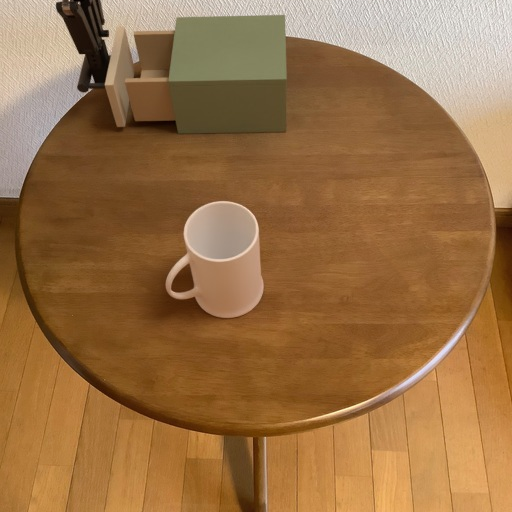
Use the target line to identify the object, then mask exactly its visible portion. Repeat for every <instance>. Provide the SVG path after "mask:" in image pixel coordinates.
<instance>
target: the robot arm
mask: <svg viewBox="0 0 512 512" xmlns="http://www.w3.org/2000/svg"><path fill="white" fill-rule="evenodd" d="M55 10H56V12H57V13H58V14H59V16H60V17H61V18H62V20H63V23H64V24H65V26H66V29H67V31H68V33H69V36H70V38H71V40H72V42H73V45H74V46H75V48H76V50H77V52H78V54H79V55H85V54H86V57H87V60H88V63H89V66H90V70H91V73H92V79H93V83H105V81H106V76H107V72H108V67H109V62H110V58H109V55H110V54H109V50H108V47H107V44H106V40H105V39H103V38H109V37H110V30H109V29H104V28H103V26H105V23H106V19H105V16H104V12H103V11H104V10H103V6H102V1H101V0H60V1H56V2H55Z"/></svg>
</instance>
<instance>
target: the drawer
mask: <svg viewBox="0 0 512 512" xmlns="http://www.w3.org/2000/svg"><path fill="white" fill-rule="evenodd" d="M174 33H175V29H174V30H173V29H172V30H170V29H169V30H134V31H133V39H134V43H135V47H136V51H137V56H138V57H137V58H138V61H139V65H140V70H141V71H140V77H135V72H136V71H135V70H136V68H135V64H134V60H133V56H132V51H131V47H130V43H129V38H128V35H127V31H126V27H125V26H116V29H115V34H114V39H113V43H112V48H111V53H110V54H108V55H109V58H110V62H109V67H108V72H107V76H106V81H105V83H95V82H92V81H91V80H92V78H93V76H92V73H91V70H90V66H89V63H88V60H87V57H86V54H84V56H83V61H82V65H81V70H80V72H79V73H80V74H79V78H78V81H77V85H76V89H77V90H78V92H80V93H82V94H83V93H84V94H85V93H88V91H89V90H103V89H105V91H106V94H107V97H108V102H109V104H110V107H111V112H112V115H113V119H114V121H115V124H116V127H117V128H125V127H126V122H127V117H128V112H129V106H130V107H131V111H132V115H133V116H132V117H133V119H134V122H163V121H164V122H166V121H167V122H169V121H170V122H171V121H173V122H174V121H176V120H175V115H174V109H173V104H172V99H171V93H170V88H169V82H168V80H169V72H170V64H171V56H172V48H173V41H174Z"/></svg>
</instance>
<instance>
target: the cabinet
mask: <svg viewBox="0 0 512 512" xmlns="http://www.w3.org/2000/svg"><path fill="white" fill-rule="evenodd" d="M174 30H175V33H174V41H173V48H172V56H171V64H170V72H169V80H168V82H169V88H170V93H171V99H172V104H173V109H174V115H175V120H174V121H175V125H176V130H177V134H178V135H181V134H182V135H184V134H185V135H187V134H190V135H191V134H238V133H239V134H241V133H243V134H244V133H245V134H246V133H247V134H249V133H250V134H251V133H286V132H287V105H288V104H287V101H288V100H287V99H288V98H287V96H288V95H287V92H288V91H287V89H288V87H287V85H288V76H287V75H288V73H287V41H286V40H287V38H286V37H287V36H286V15H285V14H266V15H265V14H263V15H261V14H260V15H219V16H218V15H217V16H214V15H213V16H176V18H175V25H174Z"/></svg>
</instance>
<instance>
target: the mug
mask: <svg viewBox="0 0 512 512" xmlns="http://www.w3.org/2000/svg"><path fill="white" fill-rule="evenodd" d="M183 239H184V244H185V250H186V254H185V255H183V256H182V257H181V258H180V259H179V260H178V261H177V262H176V263H175V264H174V265H173V266H172V268H171V269H170V271H169V273H168V274H167V277H166V280H165V290H166V292H167V294H168V295H169V296H170V297H171V298H173V299H175V300H188V299H192V298H194V299H195V301H196V302H197V304H198V305H199V307H200V308H201V309H202V310H203V311H205V313H207V314H209V315H211V316H214V317H217V318H220V319H233V318H238V317H242V316H244V315H246V314H248V313H249V312H251V311H252V310H253V309H254V308H256V307H257V305H258V304H259V302H260V301H261V299H262V296H263V293H264V288H265V287H264V285H265V284H264V279H263V276H262V267H261V252H260V251H261V250H260V249H261V246H260V229H259V223H258V221H257V218H256V216H255V215H254V213H253V212H252V211H251V210H249V208H247V207H245V206H244V205H242V204H240V203H237V202H233V201H226V200H220V201H219V200H217V201H213V202H209V203H206V204H204V205H202V206H200V207H198V208H197V209H195V210H194V211H193V212H192V213H191V214H190V215H189V217H188V218H187V220H186V222H185V224H184V228H183ZM187 265H189V267H190V273H191V276H192V281H193V288H191V289H190V290H187V291H181V292H177V291H173V290H172V285H173V281H174V279H175V278H176V277H177V275H178V273H180V271H181V270H183V268H185V267H186V266H187Z"/></svg>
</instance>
